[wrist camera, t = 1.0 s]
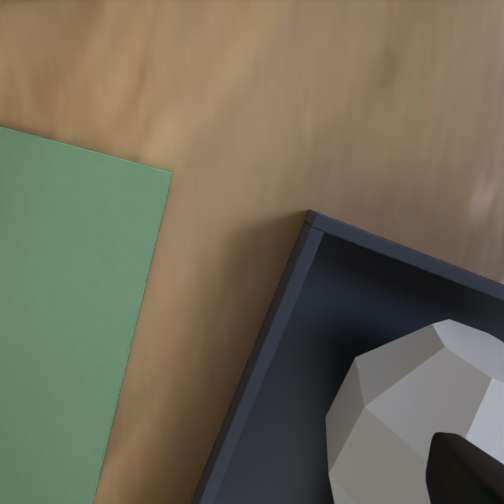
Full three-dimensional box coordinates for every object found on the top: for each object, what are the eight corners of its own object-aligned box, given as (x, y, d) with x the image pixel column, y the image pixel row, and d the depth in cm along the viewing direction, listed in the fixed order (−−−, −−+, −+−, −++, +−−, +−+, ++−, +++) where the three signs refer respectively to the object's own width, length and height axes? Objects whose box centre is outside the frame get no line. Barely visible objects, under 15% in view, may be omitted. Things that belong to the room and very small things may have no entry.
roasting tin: (417, 704, 24) (442, 788, 21) (150, 602, 24) (130, 670, 20) (613, 327, 21) (679, 353, 18) (308, 209, 21) (316, 212, 17)
